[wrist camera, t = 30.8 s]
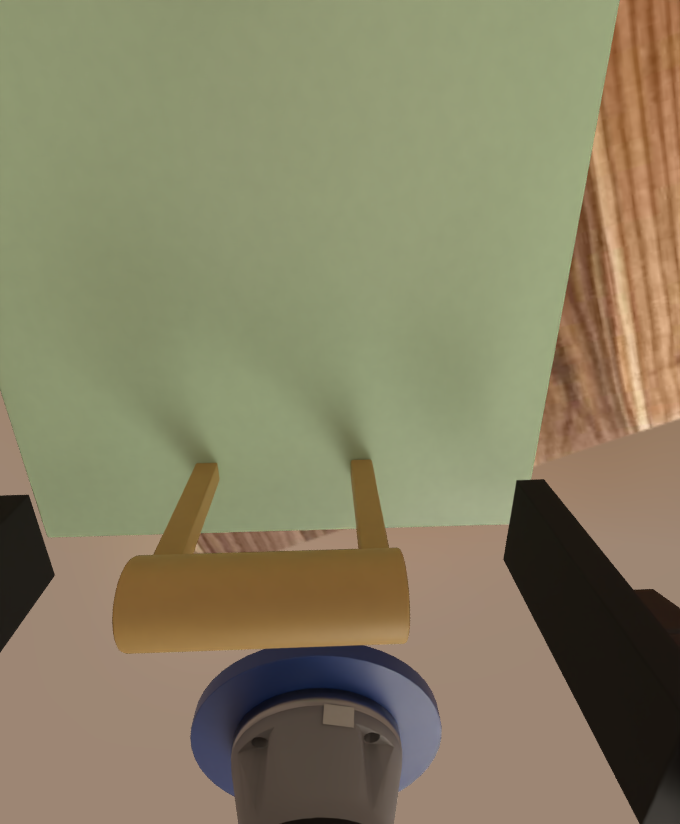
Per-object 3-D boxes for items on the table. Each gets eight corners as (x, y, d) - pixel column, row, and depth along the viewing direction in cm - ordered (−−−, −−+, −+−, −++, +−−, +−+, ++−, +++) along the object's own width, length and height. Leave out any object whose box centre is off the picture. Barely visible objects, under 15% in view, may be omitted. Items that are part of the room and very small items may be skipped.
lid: (515, 511, 18) (633, 701, 11) (58, 524, 17) (-109, 731, 10) (669, -373, 9) (1595, -1891, 3) (-224, -402, 9) (-2033, -2394, 2)
